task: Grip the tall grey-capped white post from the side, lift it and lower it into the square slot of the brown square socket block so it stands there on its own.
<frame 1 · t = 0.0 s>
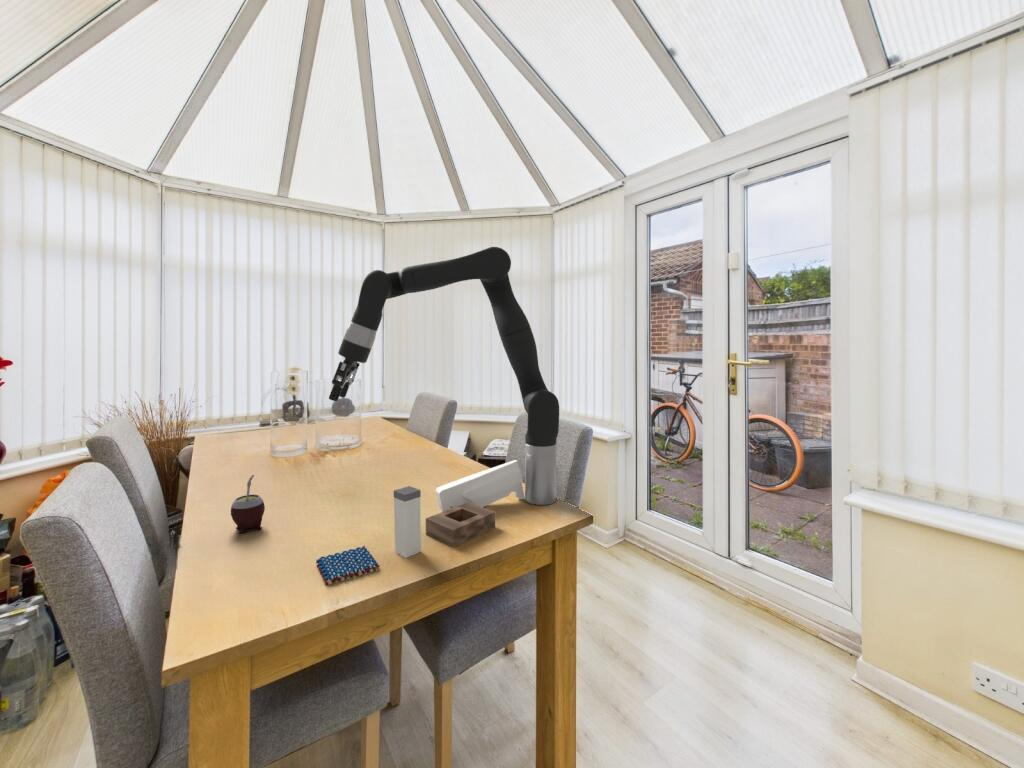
hand: (337, 398, 113), 31 cm above the table, tool tilted 20°, fingers open, 8 cm apart
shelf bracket: (482, 507, 119), on the table
mate gourd: (250, 530, 104), on the table
brown square socket block: (461, 530, 103), on the table
woven mat: (347, 570, 86), on the table
grey-capped white post: (408, 551, 93), on the table
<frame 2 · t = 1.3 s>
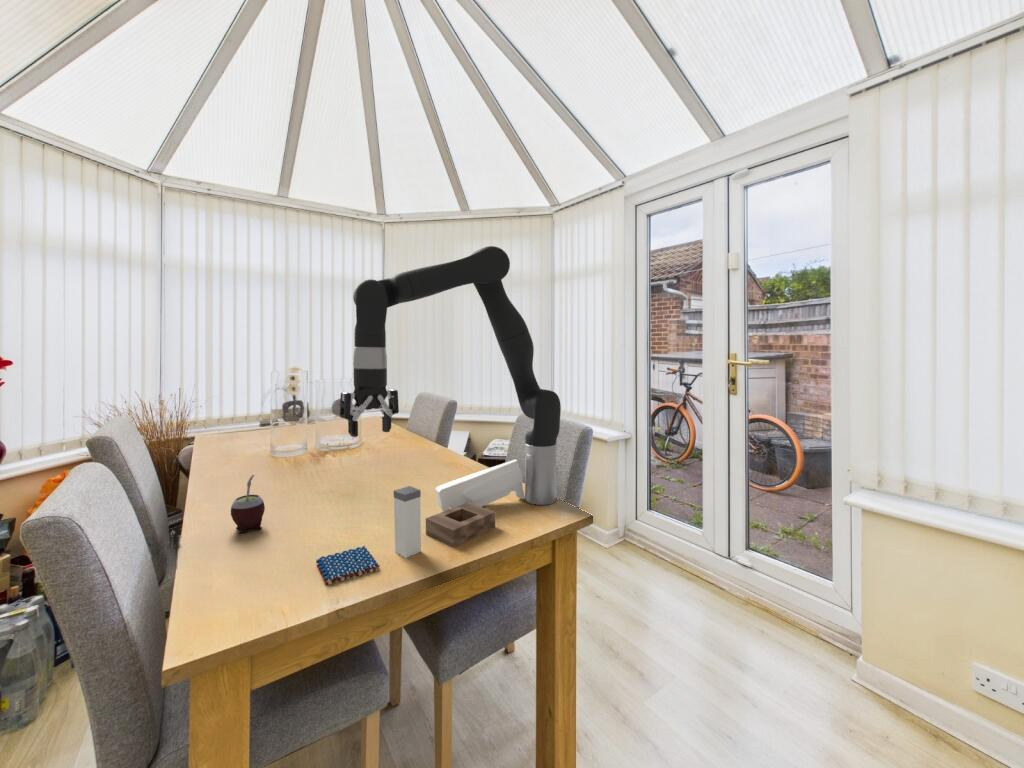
hand: (370, 434, 100), 24 cm above the table, tool pointing down, fingers open, 8 cm apart
nothing on the table moved.
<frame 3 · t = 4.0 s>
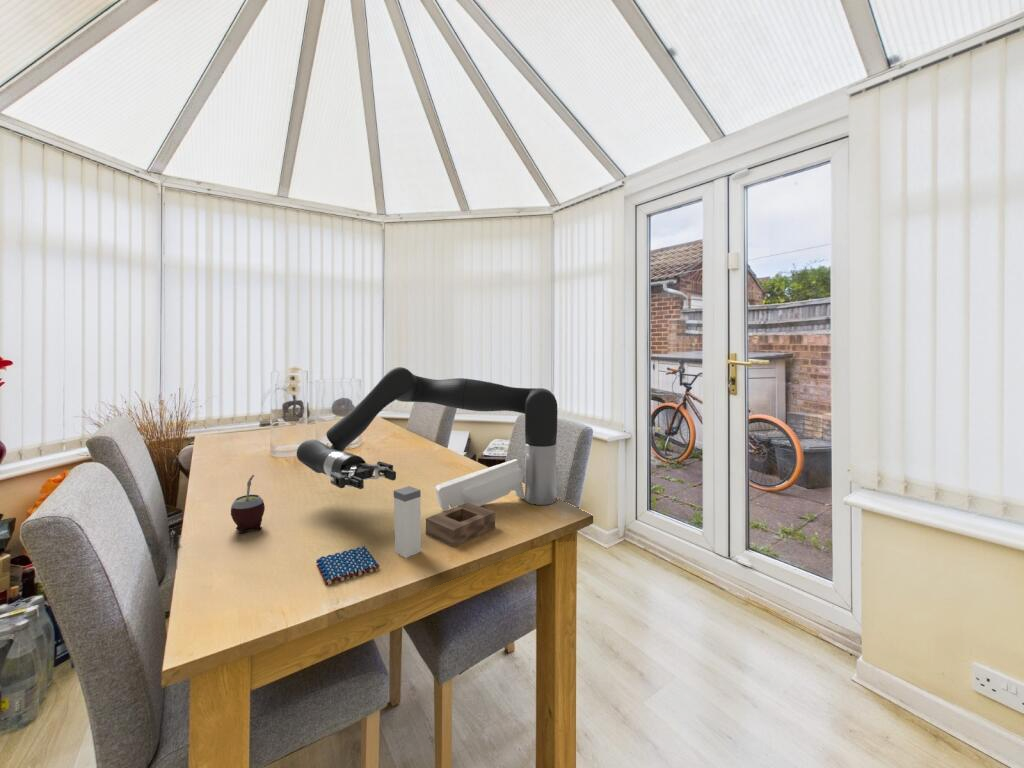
hand: (378, 480, 99), 14 cm above the table, tool horizontal, fingers open, 8 cm apart
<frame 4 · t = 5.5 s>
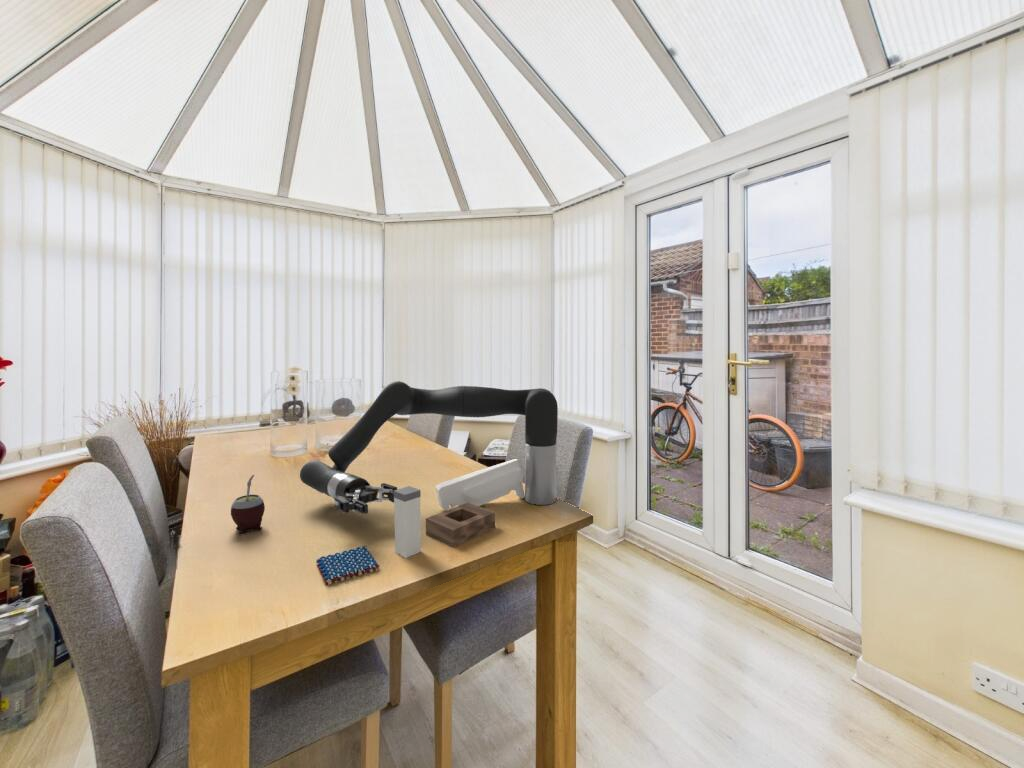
hand: (383, 504, 98), 8 cm above the table, tool horizontal, fingers open, 8 cm apart
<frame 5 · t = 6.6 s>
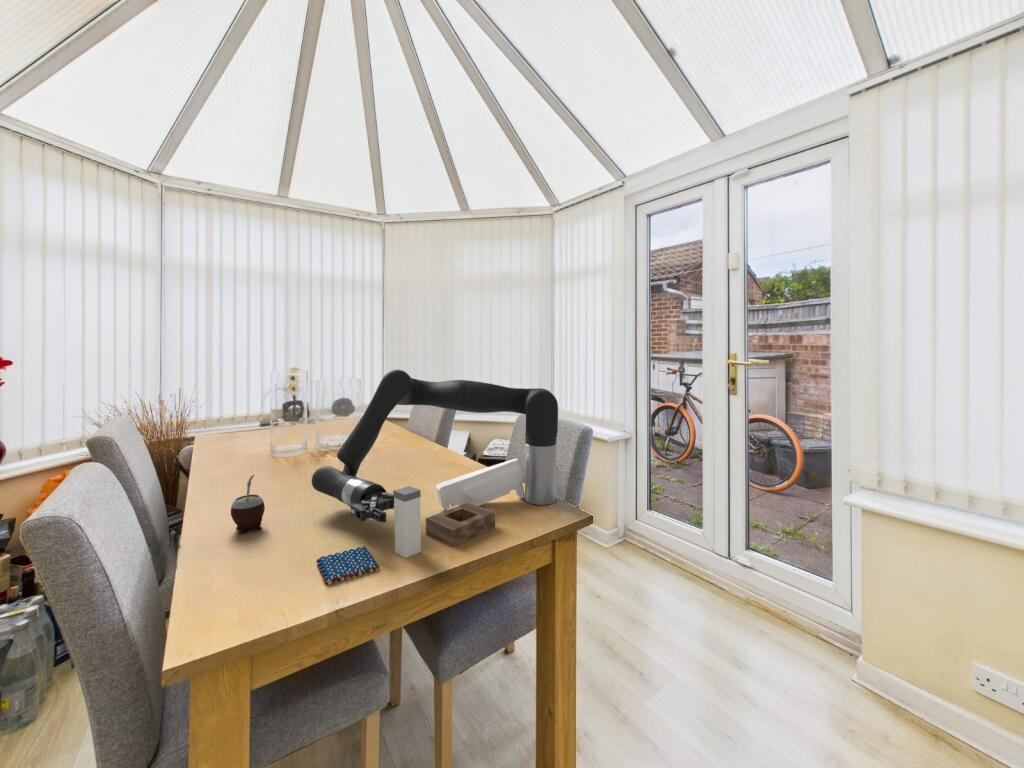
hand: (401, 512, 93), 8 cm above the table, tool horizontal, fingers open, 8 cm apart
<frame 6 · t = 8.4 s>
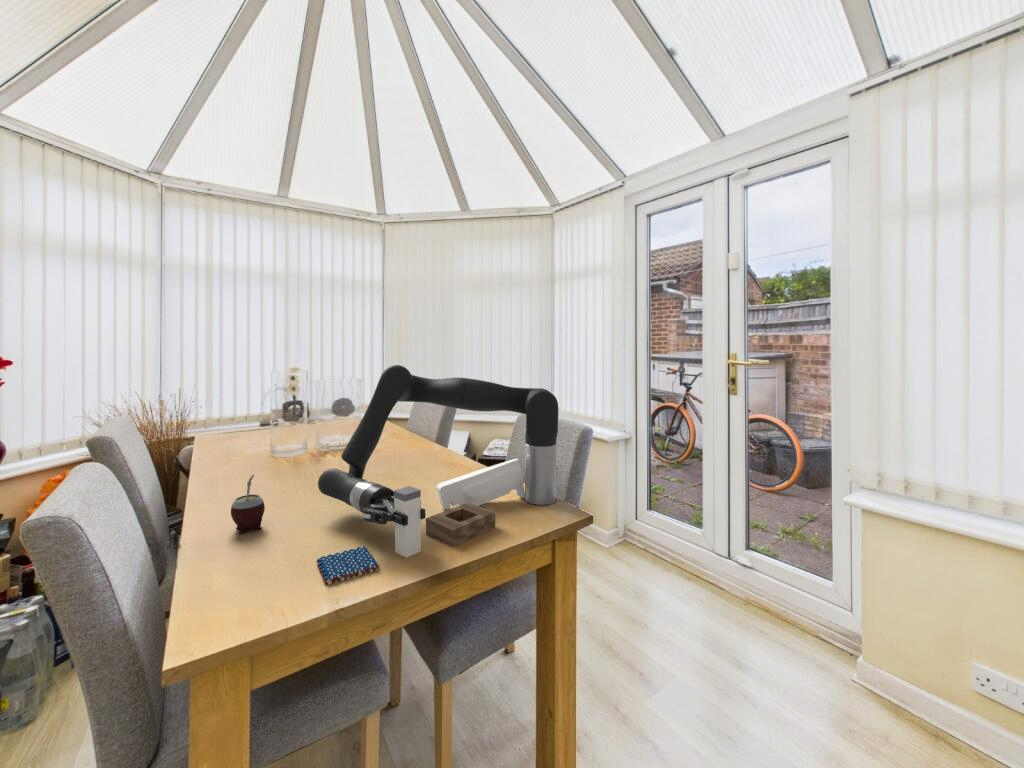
hand: (415, 517, 90), 9 cm above the table, tool horizontal, fingers closed on grey-capped white post, 4 cm apart
grey-capped white post: (408, 551, 93), on the table, touching gripper
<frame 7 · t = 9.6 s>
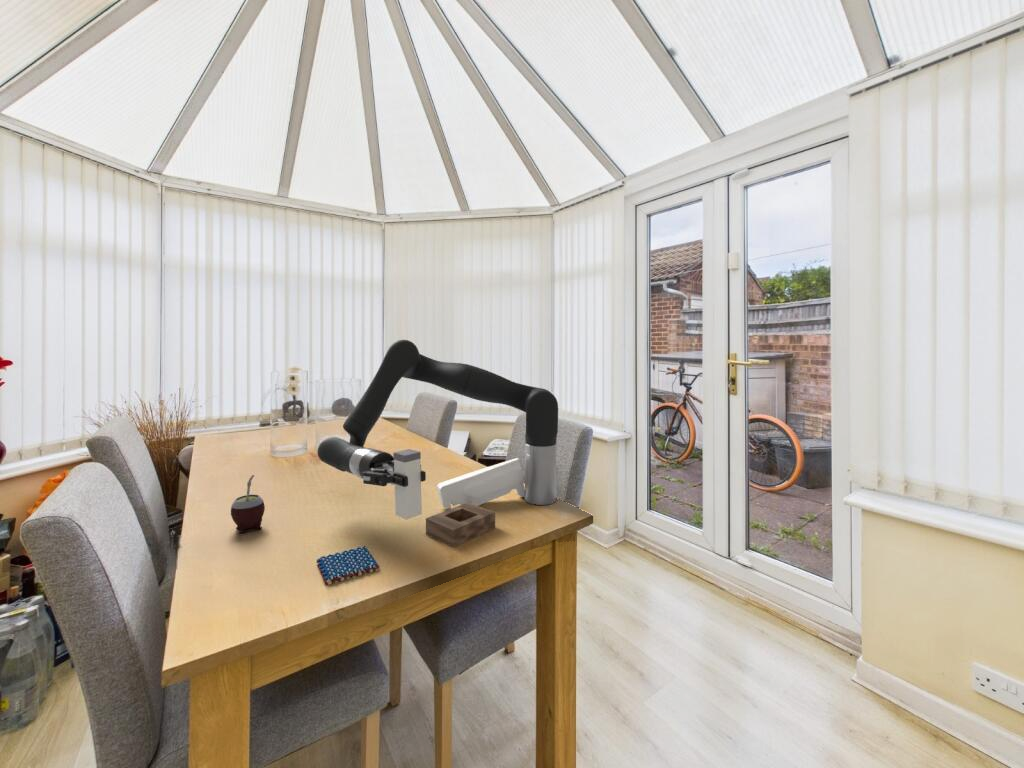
hand: (415, 479, 89), 17 cm above the table, tool horizontal, fingers closed on grey-capped white post, 4 cm apart
grey-capped white post: (408, 514, 92), point 9 cm above the table, touching gripper
when the fingers open (10 cm above the table, at t = 14.5 s): grey-capped white post stays where it is, resting on brown square socket block.
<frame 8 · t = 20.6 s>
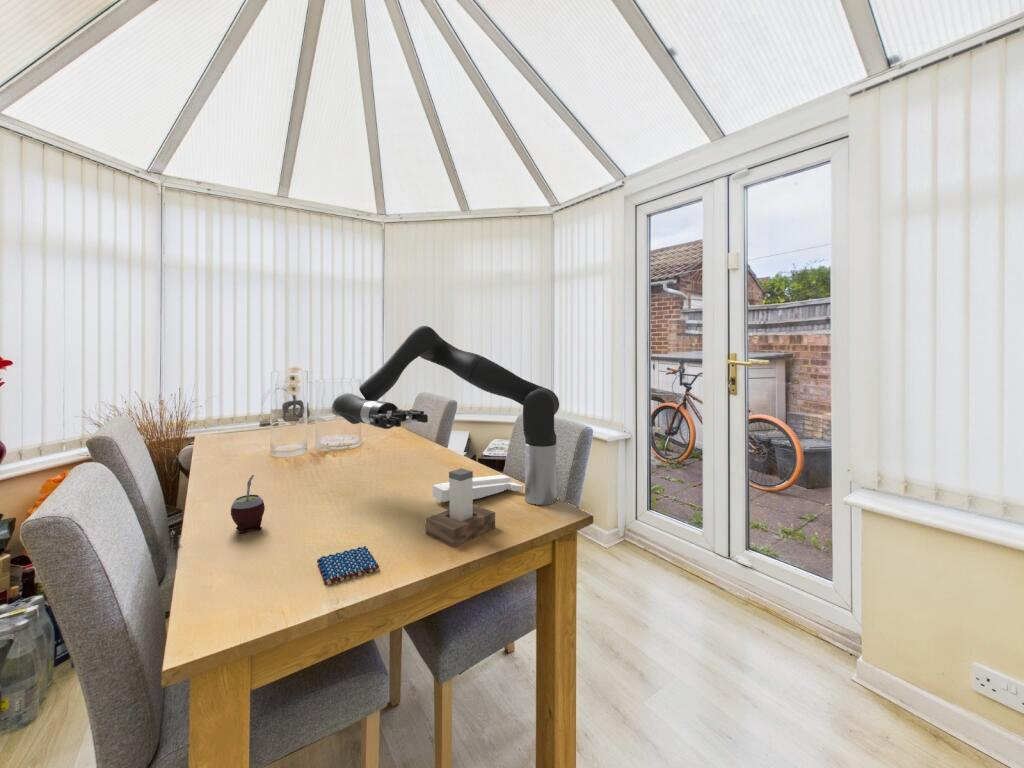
hand: (413, 420, 110), 26 cm above the table, tool horizontal, fingers open, 8 cm apart
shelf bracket: (484, 493, 123), point 3 cm above the table
grey-capped white post: (461, 526, 103), point 1 cm above the table, touching brown square socket block
everything else where it was.
at the end: grey-capped white post 0.0 cm off-centre on the brown square socket block, point 1.0 cm above the brown square socket block's base; grey-capped white post tilted 0°; the gripper is holding nothing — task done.
